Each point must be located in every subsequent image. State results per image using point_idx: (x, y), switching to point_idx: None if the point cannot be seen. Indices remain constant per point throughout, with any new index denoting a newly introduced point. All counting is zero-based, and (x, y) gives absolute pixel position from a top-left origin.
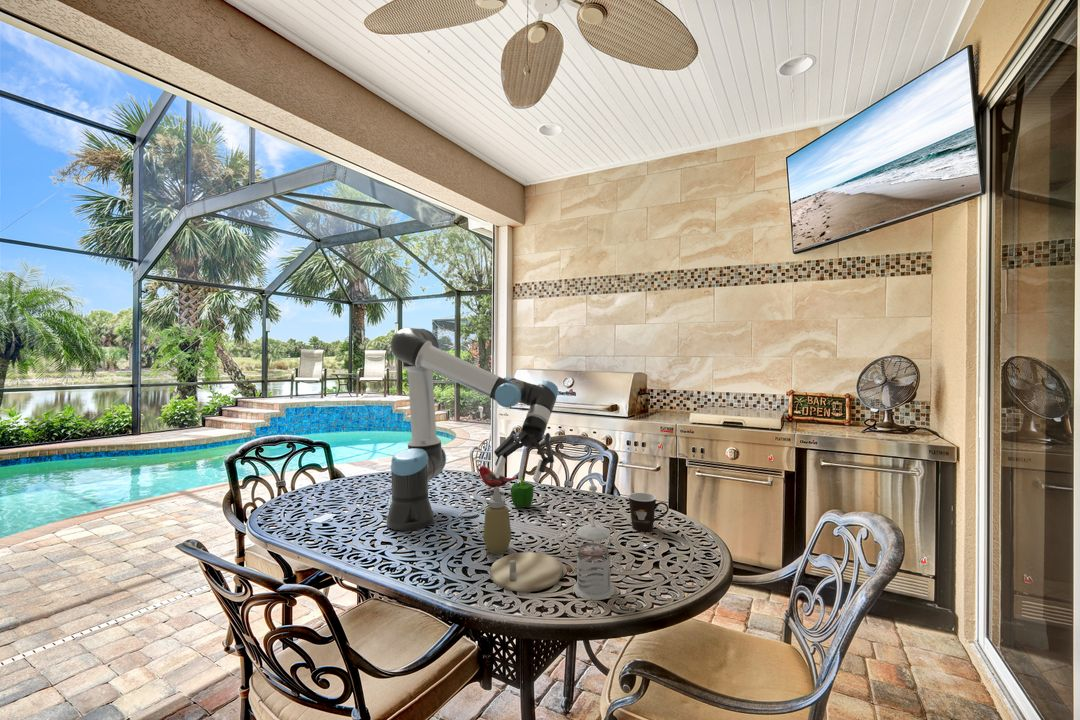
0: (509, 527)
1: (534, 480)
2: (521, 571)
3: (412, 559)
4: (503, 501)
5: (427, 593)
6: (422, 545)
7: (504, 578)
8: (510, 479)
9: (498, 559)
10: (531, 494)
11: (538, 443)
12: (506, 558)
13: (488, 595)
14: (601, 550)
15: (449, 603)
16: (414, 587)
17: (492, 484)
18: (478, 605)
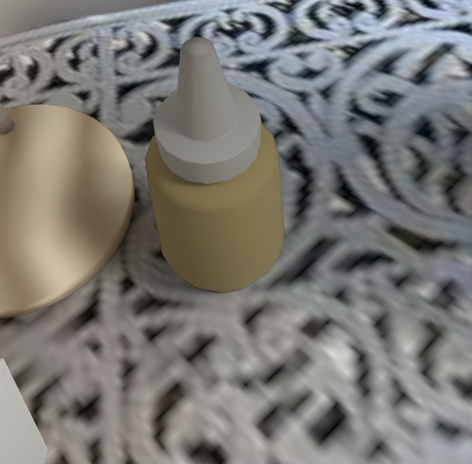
0: (161, 236)
1: (18, 401)
2: (9, 169)
3: (365, 57)
4: (156, 131)
5: (171, 10)
6: (447, 114)
7: (31, 117)
8: None
9: (129, 175)
10: None
11: None
12: (110, 195)
13: (42, 79)
14: None
15: (97, 18)
16: (218, 6)
17: None
18: (35, 47)
